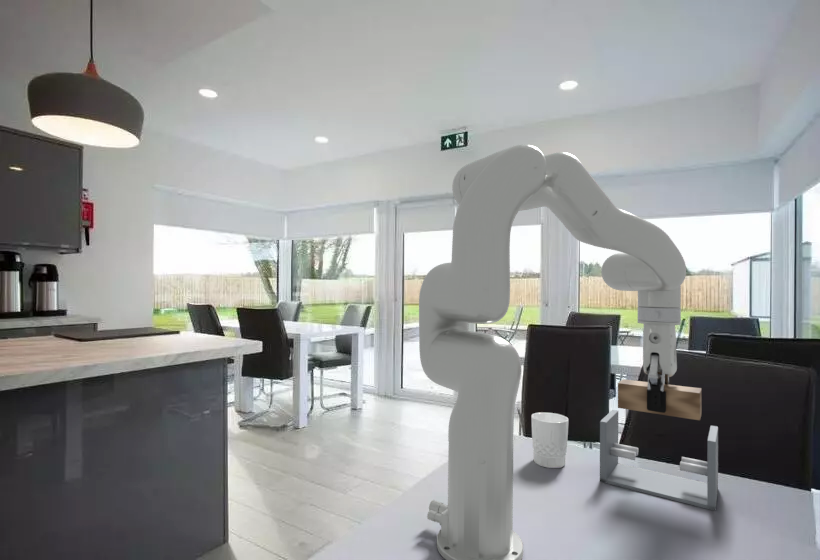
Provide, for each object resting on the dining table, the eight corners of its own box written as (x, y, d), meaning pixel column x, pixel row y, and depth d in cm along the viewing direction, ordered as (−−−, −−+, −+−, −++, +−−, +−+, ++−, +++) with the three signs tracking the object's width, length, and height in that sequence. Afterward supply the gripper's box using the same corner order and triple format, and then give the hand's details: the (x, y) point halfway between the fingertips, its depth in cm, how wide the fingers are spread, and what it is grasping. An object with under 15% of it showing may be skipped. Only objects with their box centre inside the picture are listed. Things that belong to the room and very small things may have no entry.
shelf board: (701, 414, 86) (701, 388, 87) (699, 420, 82) (699, 393, 83) (622, 402, 95) (622, 379, 95) (617, 407, 91) (617, 383, 91)
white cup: (523, 459, 101) (523, 414, 101) (549, 453, 105) (549, 410, 105) (549, 472, 94) (550, 424, 94) (576, 465, 98) (576, 419, 98)
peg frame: (599, 481, 90) (600, 421, 90) (612, 464, 98) (612, 409, 99) (715, 510, 78) (715, 441, 78) (717, 488, 87) (718, 426, 87)
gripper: (675, 319, 80) (675, 421, 80) (684, 315, 94) (684, 402, 93) (629, 317, 84) (629, 414, 84) (644, 313, 98) (644, 397, 98)
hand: (658, 407), depth 89 cm, fingers closed on shelf board, 5 cm apart
